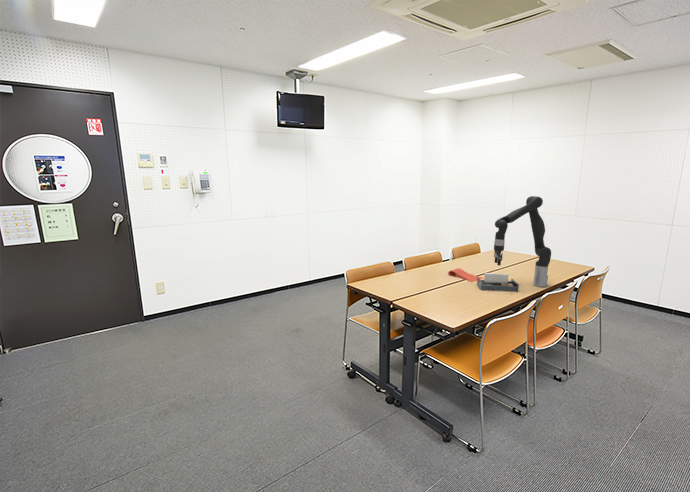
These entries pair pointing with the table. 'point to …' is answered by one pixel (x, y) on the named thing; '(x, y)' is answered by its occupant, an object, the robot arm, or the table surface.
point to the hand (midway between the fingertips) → (497, 264)
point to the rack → (498, 286)
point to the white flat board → (496, 277)
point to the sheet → (463, 275)
